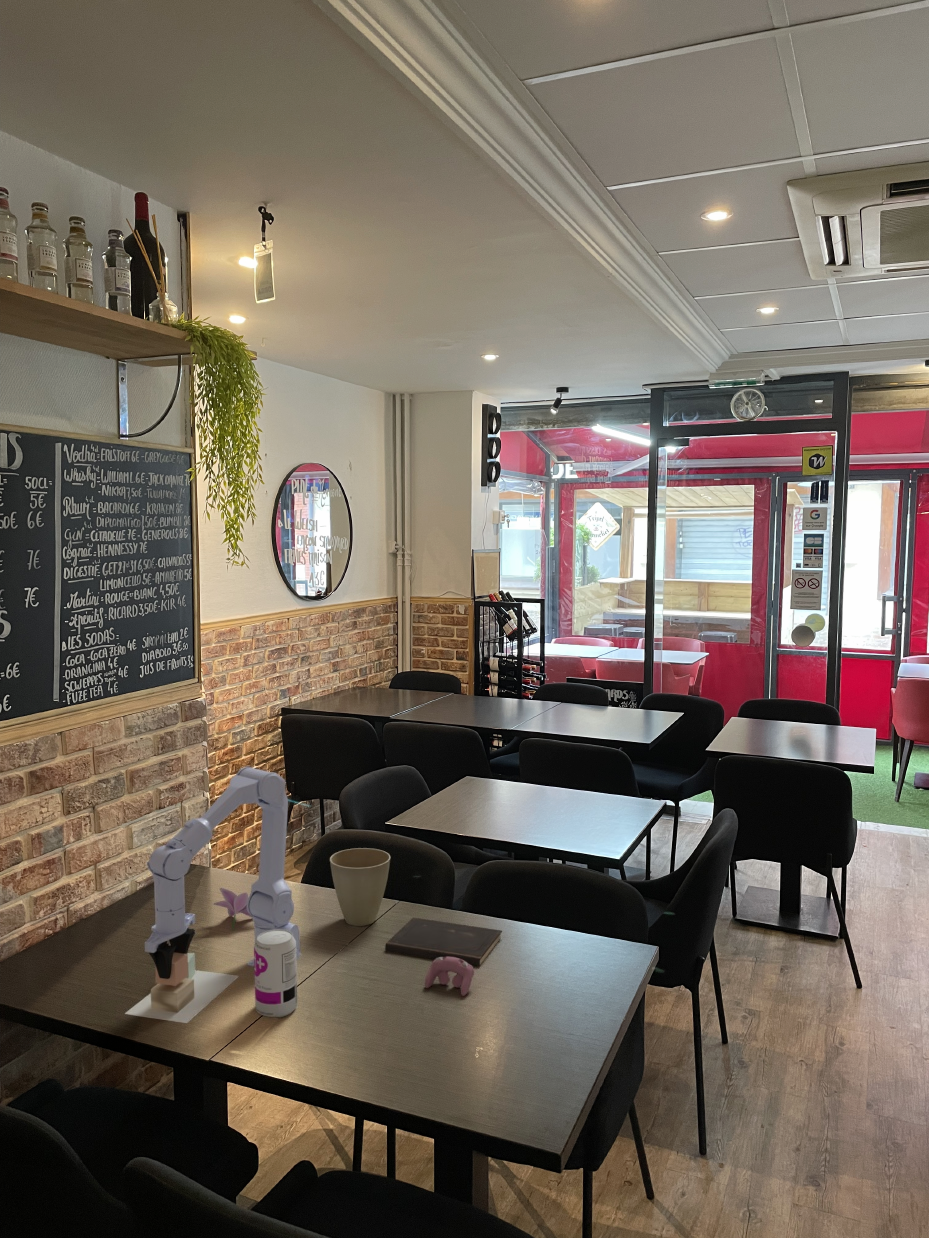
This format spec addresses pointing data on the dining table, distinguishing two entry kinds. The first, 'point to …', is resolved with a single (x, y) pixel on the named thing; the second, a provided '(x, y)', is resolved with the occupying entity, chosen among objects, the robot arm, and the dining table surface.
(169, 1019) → the mat
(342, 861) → the plant pot
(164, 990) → the birch base block
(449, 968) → the video game controller
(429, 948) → the hardcover book
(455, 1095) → the dining table surface
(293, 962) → the supplement can
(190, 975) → the sage block
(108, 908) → the dining table surface
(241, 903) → the lily
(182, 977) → the terracotta block
